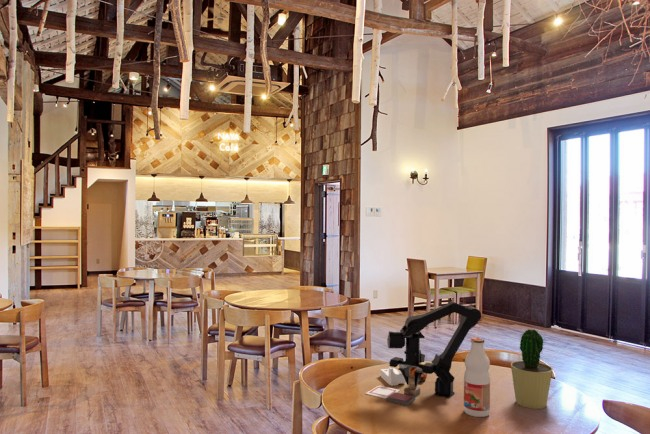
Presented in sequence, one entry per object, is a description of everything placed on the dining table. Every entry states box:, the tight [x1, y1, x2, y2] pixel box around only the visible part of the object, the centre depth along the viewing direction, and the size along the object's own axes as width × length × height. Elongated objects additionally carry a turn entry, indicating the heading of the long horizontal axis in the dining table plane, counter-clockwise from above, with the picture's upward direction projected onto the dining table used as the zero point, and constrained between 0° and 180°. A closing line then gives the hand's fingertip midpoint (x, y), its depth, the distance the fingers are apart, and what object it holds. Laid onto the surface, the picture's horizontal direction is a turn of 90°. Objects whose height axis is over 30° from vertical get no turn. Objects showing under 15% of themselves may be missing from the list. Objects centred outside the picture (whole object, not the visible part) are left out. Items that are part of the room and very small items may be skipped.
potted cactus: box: [510, 328, 553, 410], centre depth 199 cm, size 15×15×30 cm
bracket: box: [379, 366, 407, 387], centre depth 225 cm, size 13×7×8 cm, turn 14°
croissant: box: [409, 362, 428, 382], centre depth 232 cm, size 21×10×8 cm, turn 7°
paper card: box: [365, 385, 401, 400], centre depth 210 cm, size 10×12×1 cm
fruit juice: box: [463, 336, 491, 418], centre depth 189 cm, size 9×9×28 cm
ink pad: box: [385, 392, 416, 407], centre depth 201 cm, size 9×8×2 cm
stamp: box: [403, 376, 421, 398], centre depth 208 cm, size 5×5×7 cm
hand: (412, 385), depth 208 cm, fingers closed on stamp, 3 cm apart
